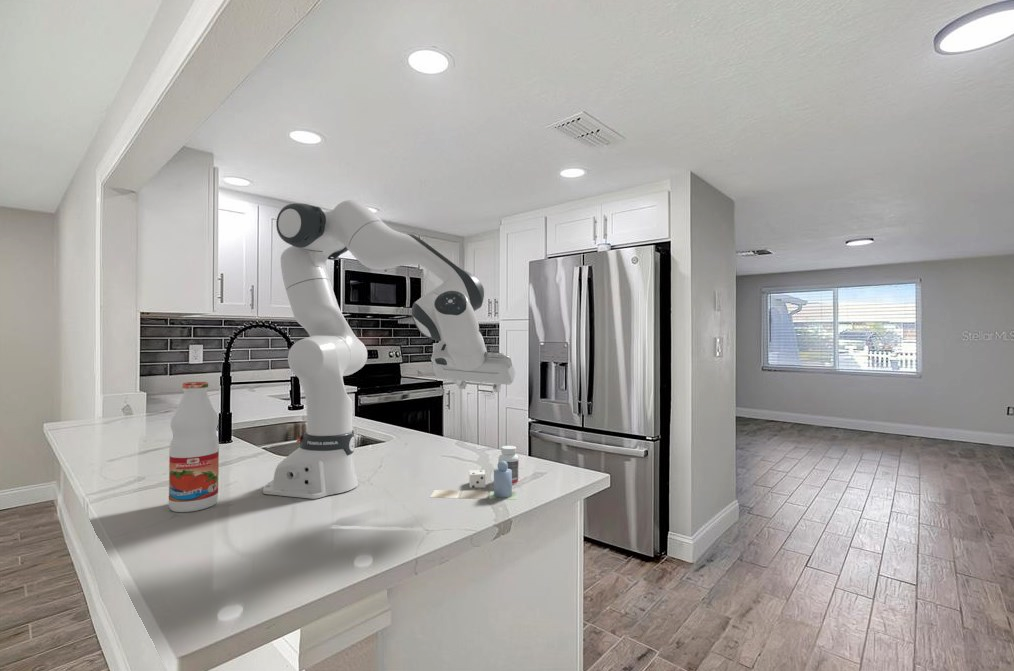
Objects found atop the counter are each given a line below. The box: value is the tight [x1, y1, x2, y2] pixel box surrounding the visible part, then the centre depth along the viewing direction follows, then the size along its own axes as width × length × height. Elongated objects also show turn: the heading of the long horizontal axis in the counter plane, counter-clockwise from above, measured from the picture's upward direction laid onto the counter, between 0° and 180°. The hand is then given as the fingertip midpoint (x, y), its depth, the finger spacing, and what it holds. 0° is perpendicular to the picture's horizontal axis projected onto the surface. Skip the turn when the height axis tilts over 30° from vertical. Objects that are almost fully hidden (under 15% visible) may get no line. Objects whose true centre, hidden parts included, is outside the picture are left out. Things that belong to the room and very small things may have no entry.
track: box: [430, 489, 518, 500], centre depth 116 cm, size 22×6×1 cm, turn 88°
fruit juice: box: [168, 381, 220, 513], centre depth 108 cm, size 9×9×28 cm
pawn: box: [493, 461, 513, 498], centre depth 115 cm, size 4×4×8 cm
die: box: [468, 469, 486, 489], centre depth 123 cm, size 4×4×4 cm
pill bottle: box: [498, 445, 520, 486], centre depth 126 cm, size 5×5×10 cm
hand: (480, 388), depth 121 cm, fingers open, 8 cm apart
